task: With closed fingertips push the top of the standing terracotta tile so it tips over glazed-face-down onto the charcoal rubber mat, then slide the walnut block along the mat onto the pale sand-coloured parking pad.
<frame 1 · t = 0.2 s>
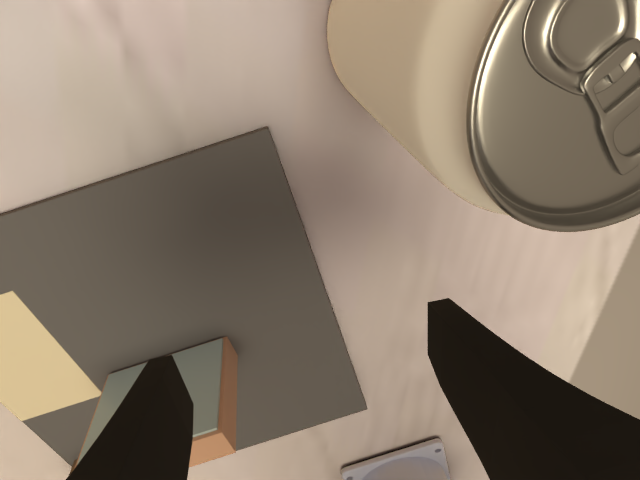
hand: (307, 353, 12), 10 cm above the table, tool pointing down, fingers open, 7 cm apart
tile: (173, 364, 24), resting on mat
mat: (166, 347, 24), on the table
can: (400, 29, 17), on the table
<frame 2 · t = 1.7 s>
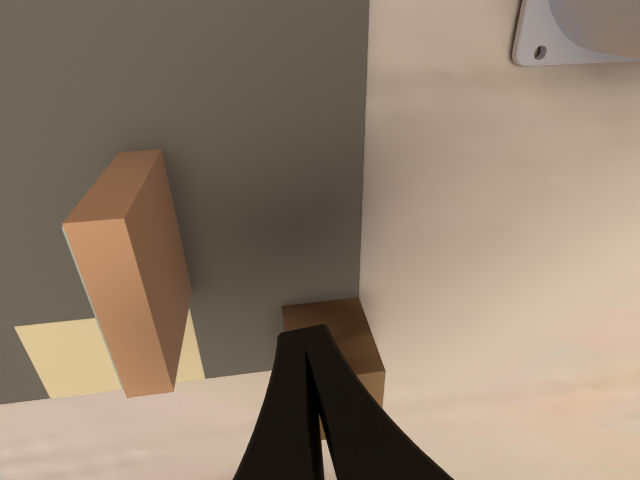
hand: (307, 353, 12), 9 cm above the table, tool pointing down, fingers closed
tile: (159, 228, 18), resting on mat
mat: (137, 226, 19), on the table
block: (321, 330, 23), resting on mat
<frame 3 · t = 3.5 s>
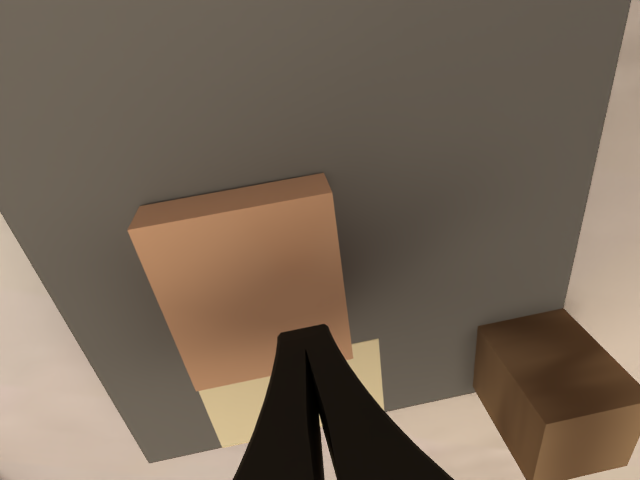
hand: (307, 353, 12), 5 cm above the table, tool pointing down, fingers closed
tile: (339, 272, 15), point 1 cm above the table, tilted 90°, touching mat
mat: (330, 253, 16), on the table
block: (515, 349, 20), resting on mat
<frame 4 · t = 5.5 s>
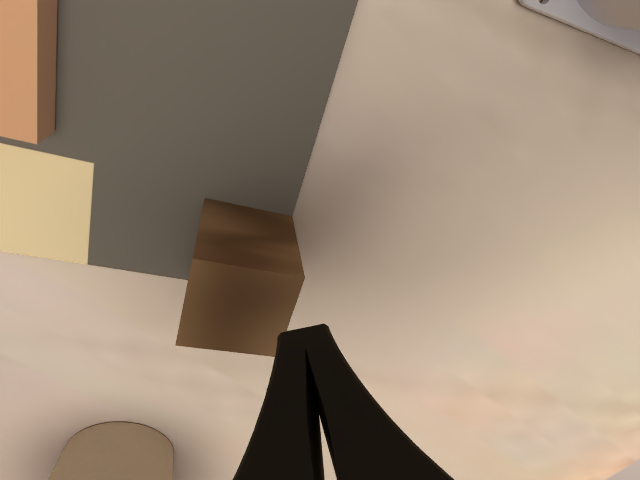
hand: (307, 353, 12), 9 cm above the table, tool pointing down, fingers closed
tile: (47, 36, 14), point 1 cm above the table, tilted 90°, touching mat
mat: (59, 32, 15), on the table
block: (240, 244, 20), resting on mat
coffee cup: (121, 452, 27), on the table
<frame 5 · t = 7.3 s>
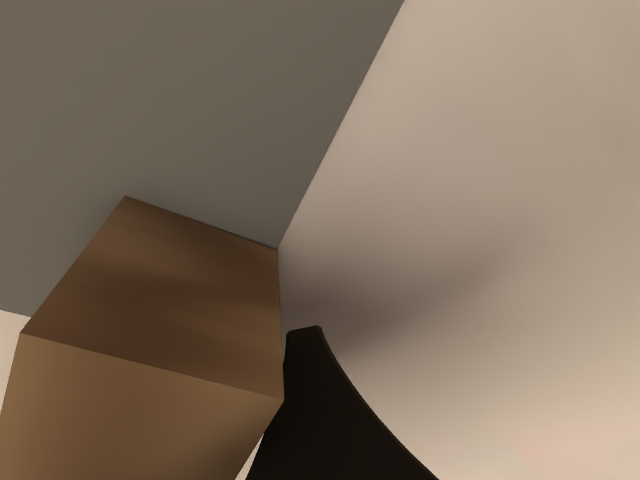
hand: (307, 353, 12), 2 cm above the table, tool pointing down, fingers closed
block: (180, 284, 12), point 1 cm above the table, touching gripper, mat
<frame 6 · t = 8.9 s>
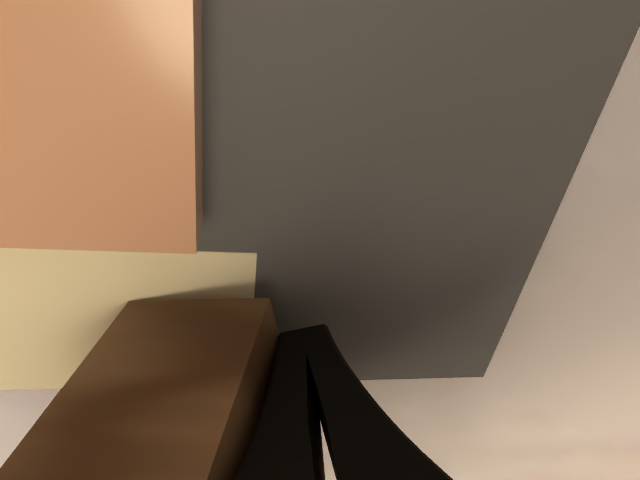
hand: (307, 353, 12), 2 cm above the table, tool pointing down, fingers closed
tile: (198, 78, 8), point 1 cm above the table, tilted 90°, touching mat
mat: (199, 67, 9), on the table
block: (216, 352, 12), point 1 cm above the table, tilted 16°, touching gripper
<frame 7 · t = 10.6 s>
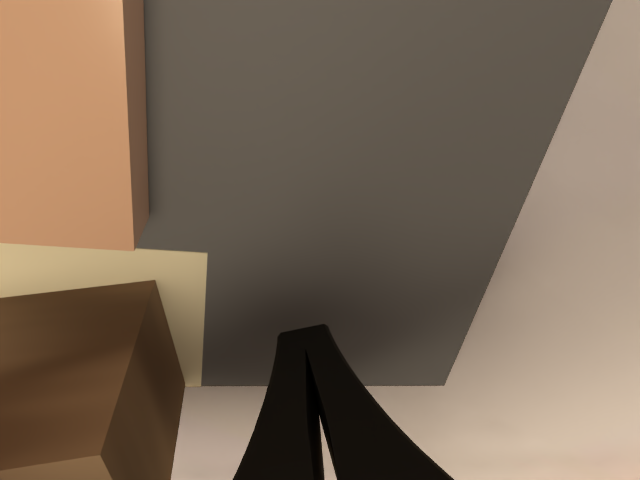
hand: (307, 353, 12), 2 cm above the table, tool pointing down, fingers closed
tile: (136, 68, 8), point 1 cm above the table, tilted 90°, touching mat
mat: (145, 58, 9), on the table
block: (99, 345, 12), resting on mat
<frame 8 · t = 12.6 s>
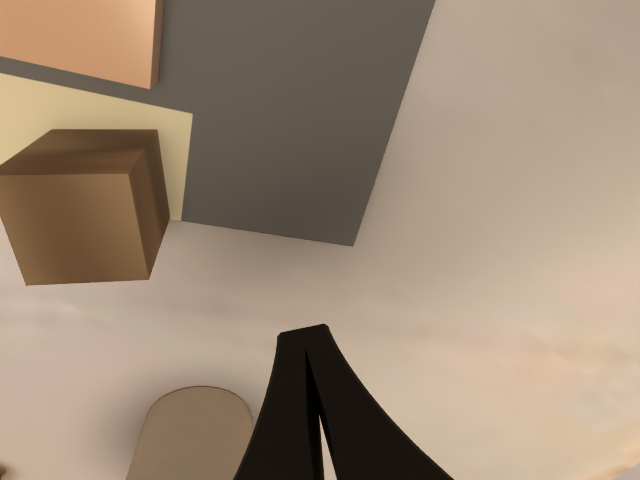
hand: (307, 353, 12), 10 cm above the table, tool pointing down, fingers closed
block: (115, 175, 18), resting on mat
coffee cup: (200, 418, 27), on the table
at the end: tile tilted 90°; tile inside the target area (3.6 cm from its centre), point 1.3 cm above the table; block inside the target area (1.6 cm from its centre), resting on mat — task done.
